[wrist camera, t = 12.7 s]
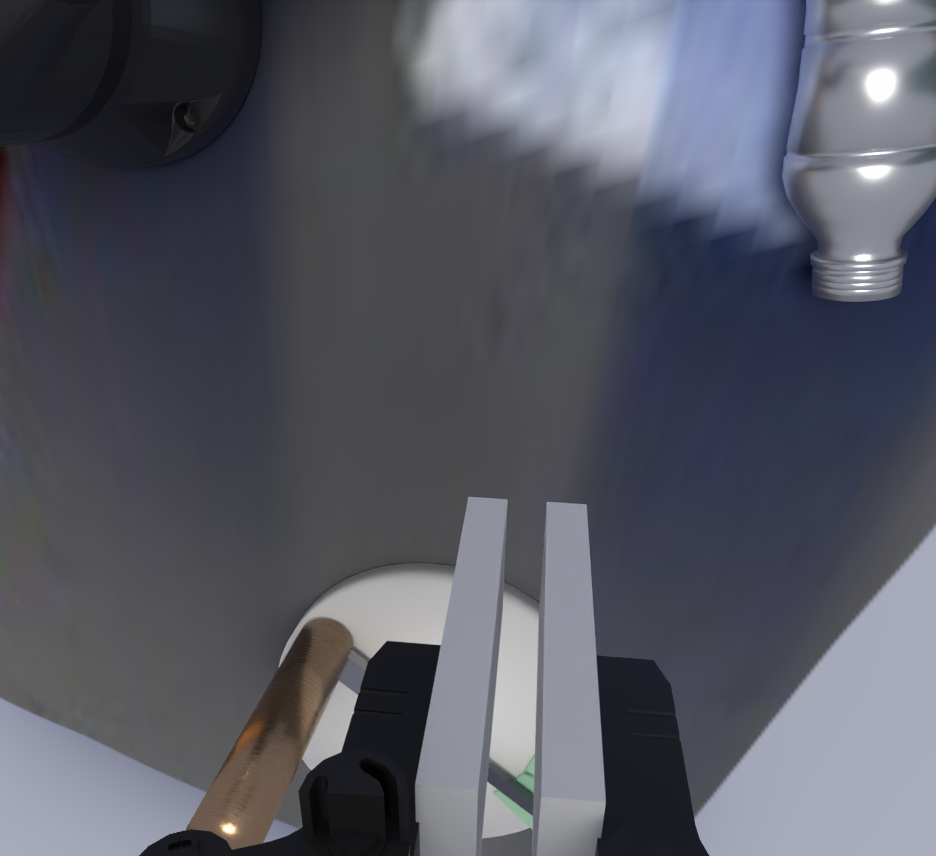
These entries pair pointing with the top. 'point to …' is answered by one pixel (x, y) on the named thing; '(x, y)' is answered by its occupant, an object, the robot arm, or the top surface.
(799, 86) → the silver metal bottle
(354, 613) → the round white plate
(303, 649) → the crank handle
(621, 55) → the top surface
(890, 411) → the top surface
